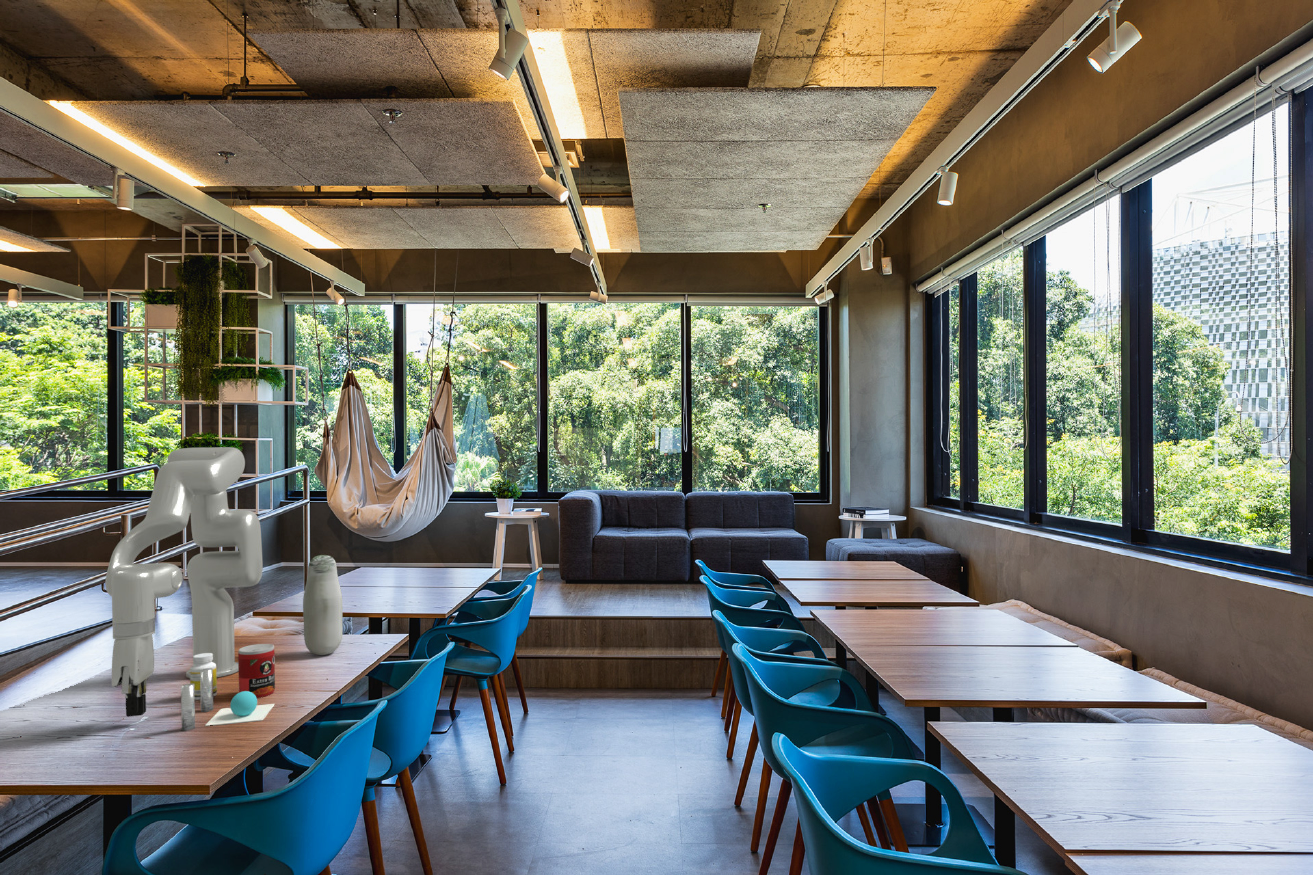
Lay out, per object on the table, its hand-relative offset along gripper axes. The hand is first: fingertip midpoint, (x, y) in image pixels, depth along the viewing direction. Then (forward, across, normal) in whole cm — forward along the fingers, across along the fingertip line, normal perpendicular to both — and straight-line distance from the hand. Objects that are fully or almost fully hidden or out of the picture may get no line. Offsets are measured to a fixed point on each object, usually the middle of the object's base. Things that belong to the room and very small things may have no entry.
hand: (136, 714), depth 165 cm
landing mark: (+2, +1, +20) cm, 21 cm away
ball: (0, +1, +21) cm, 21 cm away
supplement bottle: (+3, -17, +8) cm, 19 cm away
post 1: (+2, +7, +12) cm, 14 cm away
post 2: (+2, -6, +12) cm, 13 cm away
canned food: (+3, -15, +20) cm, 25 cm away
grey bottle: (+3, -50, +29) cm, 58 cm away
